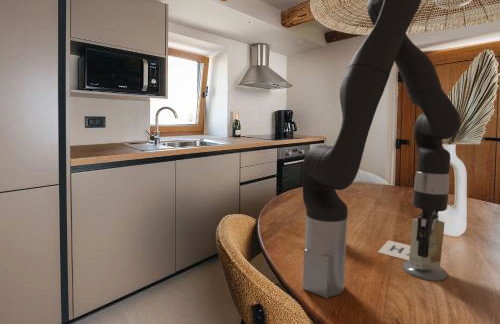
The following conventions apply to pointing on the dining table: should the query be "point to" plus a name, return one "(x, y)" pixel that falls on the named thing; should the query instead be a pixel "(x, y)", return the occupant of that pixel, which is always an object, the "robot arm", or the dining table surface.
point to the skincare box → (434, 247)
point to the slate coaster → (425, 272)
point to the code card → (396, 250)
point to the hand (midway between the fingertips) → (425, 251)
